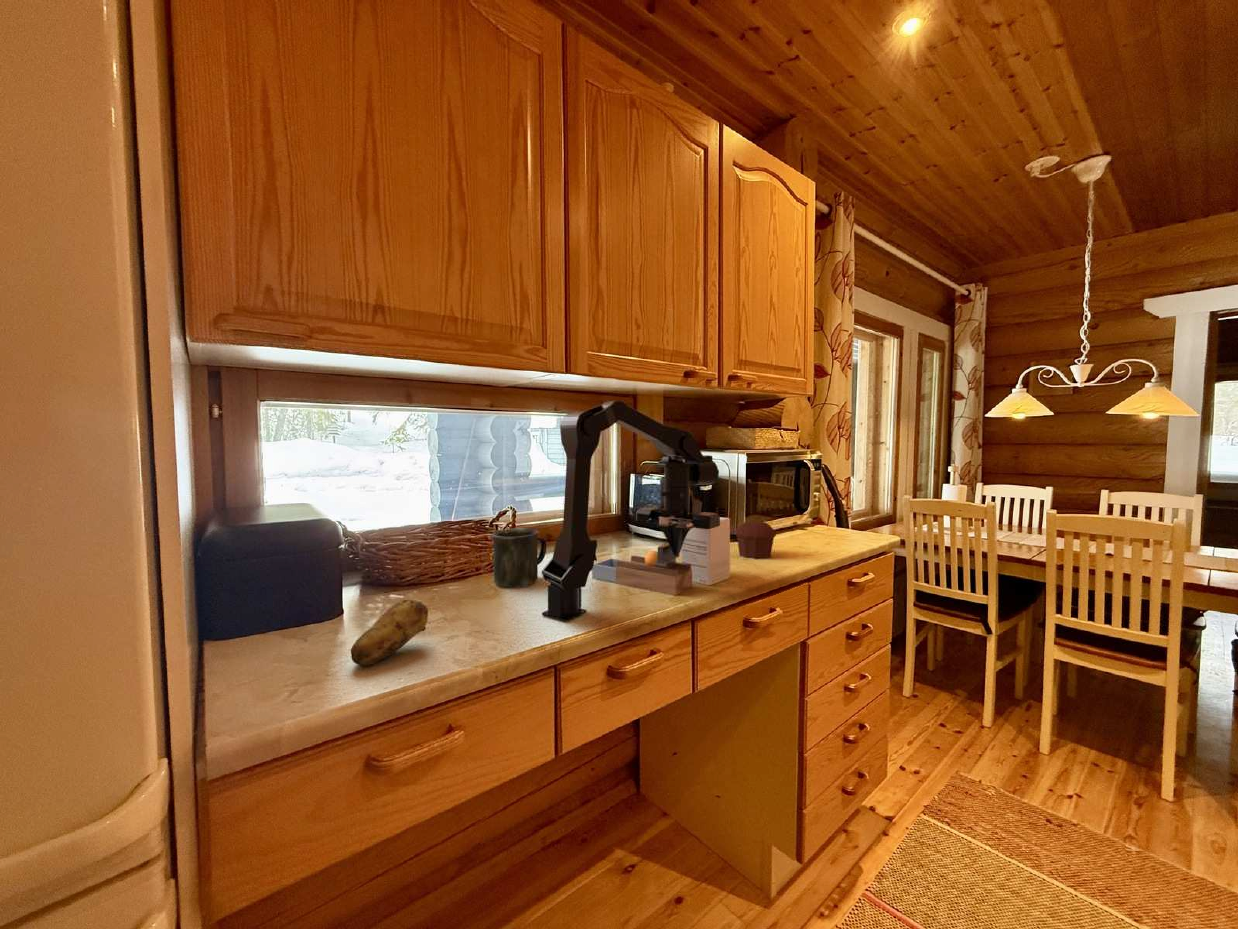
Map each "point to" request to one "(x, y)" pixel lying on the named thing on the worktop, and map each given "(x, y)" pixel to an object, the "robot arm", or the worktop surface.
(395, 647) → the potato
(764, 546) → the muffin
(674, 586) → the launcher track
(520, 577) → the mug
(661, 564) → the dark grey upright block
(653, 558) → the ball
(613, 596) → the worktop surface
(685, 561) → the supplement box
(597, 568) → the flat blue-grey box
